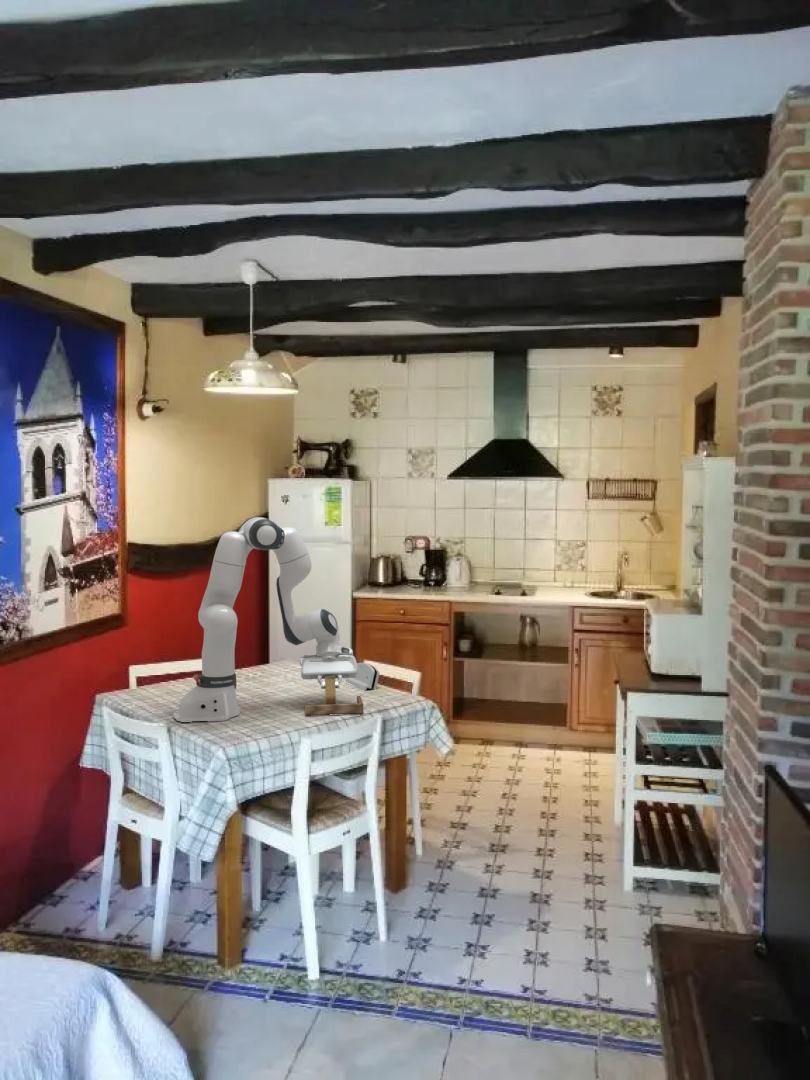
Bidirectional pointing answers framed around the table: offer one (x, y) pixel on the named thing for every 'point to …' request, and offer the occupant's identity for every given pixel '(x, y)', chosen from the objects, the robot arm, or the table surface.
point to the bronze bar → (330, 690)
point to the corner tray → (335, 708)
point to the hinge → (365, 677)
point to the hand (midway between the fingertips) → (330, 687)
